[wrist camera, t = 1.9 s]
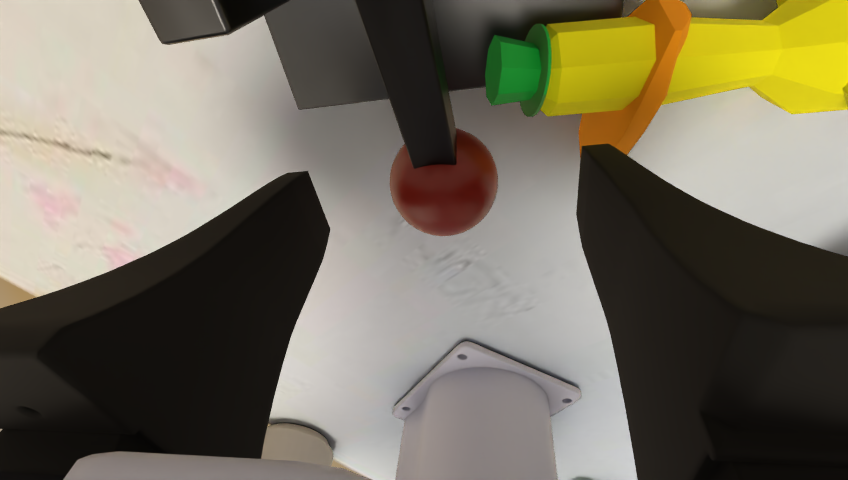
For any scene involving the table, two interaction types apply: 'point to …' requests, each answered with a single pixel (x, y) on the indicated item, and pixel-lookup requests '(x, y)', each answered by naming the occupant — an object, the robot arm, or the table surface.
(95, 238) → the table surface
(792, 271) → the robot arm
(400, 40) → the lever
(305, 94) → the bracket
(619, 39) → the toy figure
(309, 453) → the beverage can
